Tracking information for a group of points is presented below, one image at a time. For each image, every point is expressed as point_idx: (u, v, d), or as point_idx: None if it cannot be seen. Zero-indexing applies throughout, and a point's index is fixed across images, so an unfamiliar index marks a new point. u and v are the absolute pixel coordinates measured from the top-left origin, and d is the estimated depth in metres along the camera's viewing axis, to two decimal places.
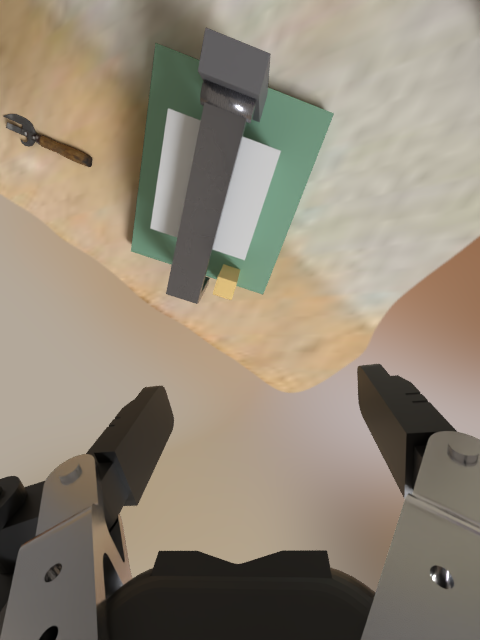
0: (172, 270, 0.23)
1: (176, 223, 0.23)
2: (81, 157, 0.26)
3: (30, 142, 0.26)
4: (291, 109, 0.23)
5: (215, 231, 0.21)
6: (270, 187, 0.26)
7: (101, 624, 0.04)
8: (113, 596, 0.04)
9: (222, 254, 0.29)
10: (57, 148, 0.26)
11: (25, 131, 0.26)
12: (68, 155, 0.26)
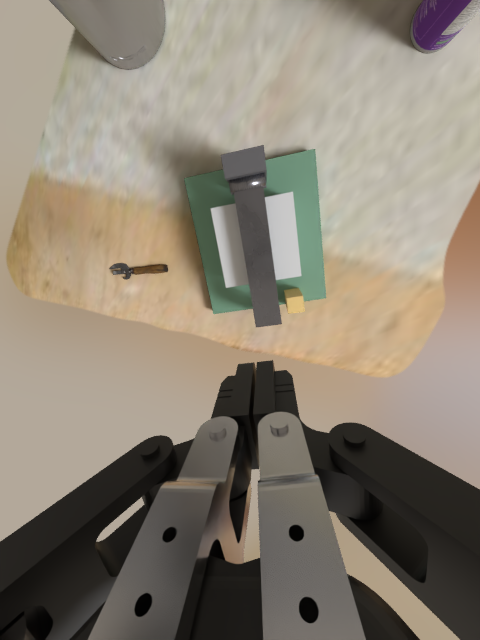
0: (254, 307, 0.30)
1: (242, 275, 0.31)
2: (161, 268, 0.37)
3: (128, 275, 0.39)
4: (284, 163, 0.31)
5: (273, 265, 0.28)
6: None
7: (181, 634, 0.03)
8: (207, 598, 0.04)
9: (280, 283, 0.36)
10: (145, 270, 0.38)
11: (123, 271, 0.39)
12: (153, 271, 0.38)
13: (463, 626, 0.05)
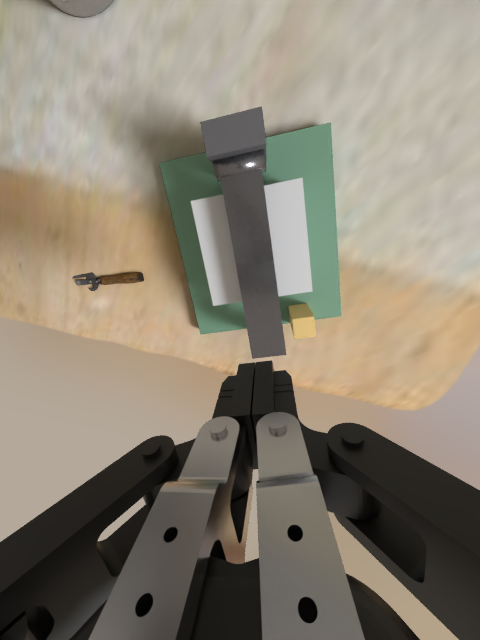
0: (249, 333, 0.22)
1: (234, 289, 0.23)
2: (134, 276, 0.30)
3: (95, 286, 0.31)
4: (289, 142, 0.23)
5: (275, 278, 0.21)
6: None
7: (183, 635, 0.03)
8: (208, 598, 0.04)
9: (283, 297, 0.28)
10: (115, 280, 0.30)
11: (89, 280, 0.31)
12: (124, 280, 0.30)
13: (461, 625, 0.05)
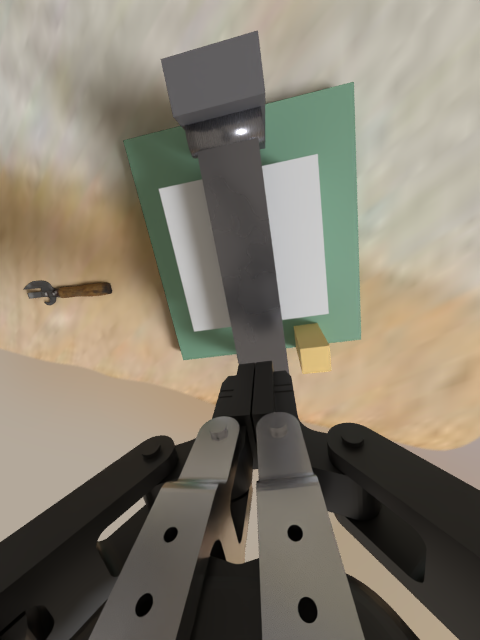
0: None
1: (222, 310, 0.17)
2: (99, 288, 0.24)
3: (52, 299, 0.25)
4: (297, 111, 0.17)
5: (277, 298, 0.15)
6: None
7: (183, 635, 0.03)
8: (208, 599, 0.04)
9: None
10: (76, 292, 0.24)
11: (45, 292, 0.25)
12: (87, 293, 0.24)
13: (461, 625, 0.05)
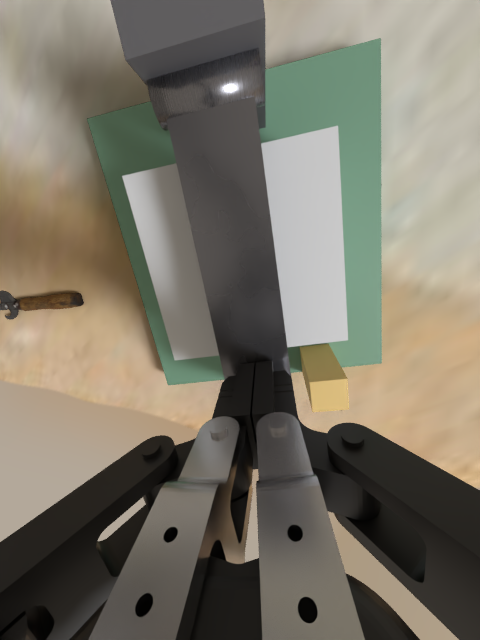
0: None
1: (209, 335, 0.13)
2: (67, 299, 0.20)
3: (13, 312, 0.21)
4: (306, 78, 0.13)
5: (282, 323, 0.11)
6: None
7: (183, 635, 0.03)
8: (208, 599, 0.04)
9: None
10: (40, 304, 0.20)
11: (5, 305, 0.21)
12: (53, 305, 0.20)
13: (461, 625, 0.05)
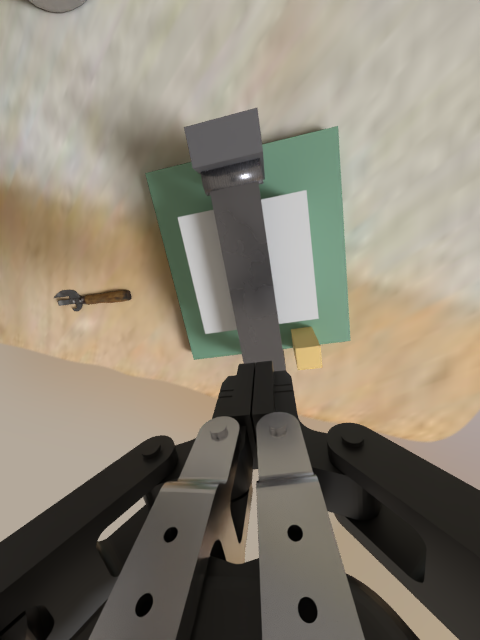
0: None
1: (228, 316, 0.20)
2: (120, 295, 0.27)
3: (79, 306, 0.29)
4: (291, 149, 0.21)
5: (275, 306, 0.18)
6: None
7: (182, 635, 0.03)
8: (208, 598, 0.04)
9: None
10: (100, 299, 0.28)
11: (72, 300, 0.28)
12: (110, 300, 0.27)
13: (461, 625, 0.05)
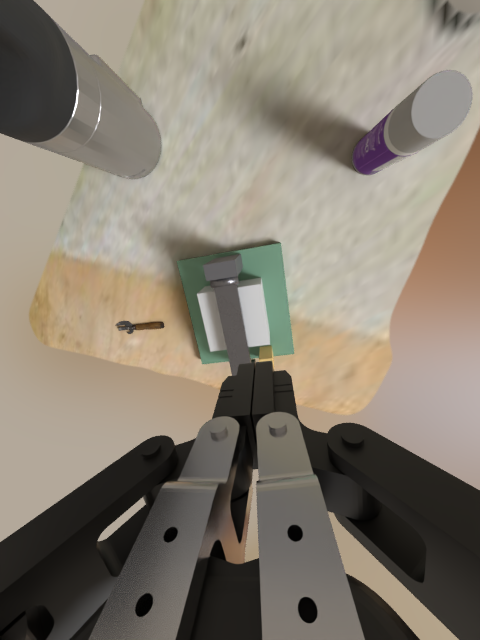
0: (232, 369, 0.38)
1: (223, 342, 0.38)
2: (158, 325, 0.45)
3: (131, 331, 0.46)
4: (256, 253, 0.39)
5: (245, 339, 0.36)
6: (265, 293, 0.40)
7: (183, 636, 0.03)
8: (208, 599, 0.04)
9: None
10: (145, 327, 0.45)
11: (127, 327, 0.46)
12: (151, 328, 0.45)
13: (461, 626, 0.05)
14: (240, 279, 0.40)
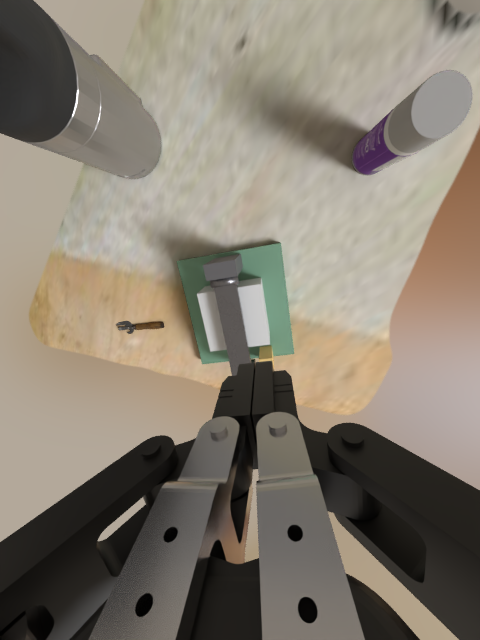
0: (232, 369, 0.38)
1: (223, 342, 0.38)
2: (158, 325, 0.45)
3: (131, 330, 0.46)
4: (256, 253, 0.39)
5: (245, 339, 0.36)
6: (265, 293, 0.40)
7: (183, 635, 0.03)
8: (208, 598, 0.04)
9: None
10: (145, 327, 0.45)
11: (127, 327, 0.46)
12: (152, 327, 0.45)
13: (461, 626, 0.05)
14: (240, 279, 0.40)
